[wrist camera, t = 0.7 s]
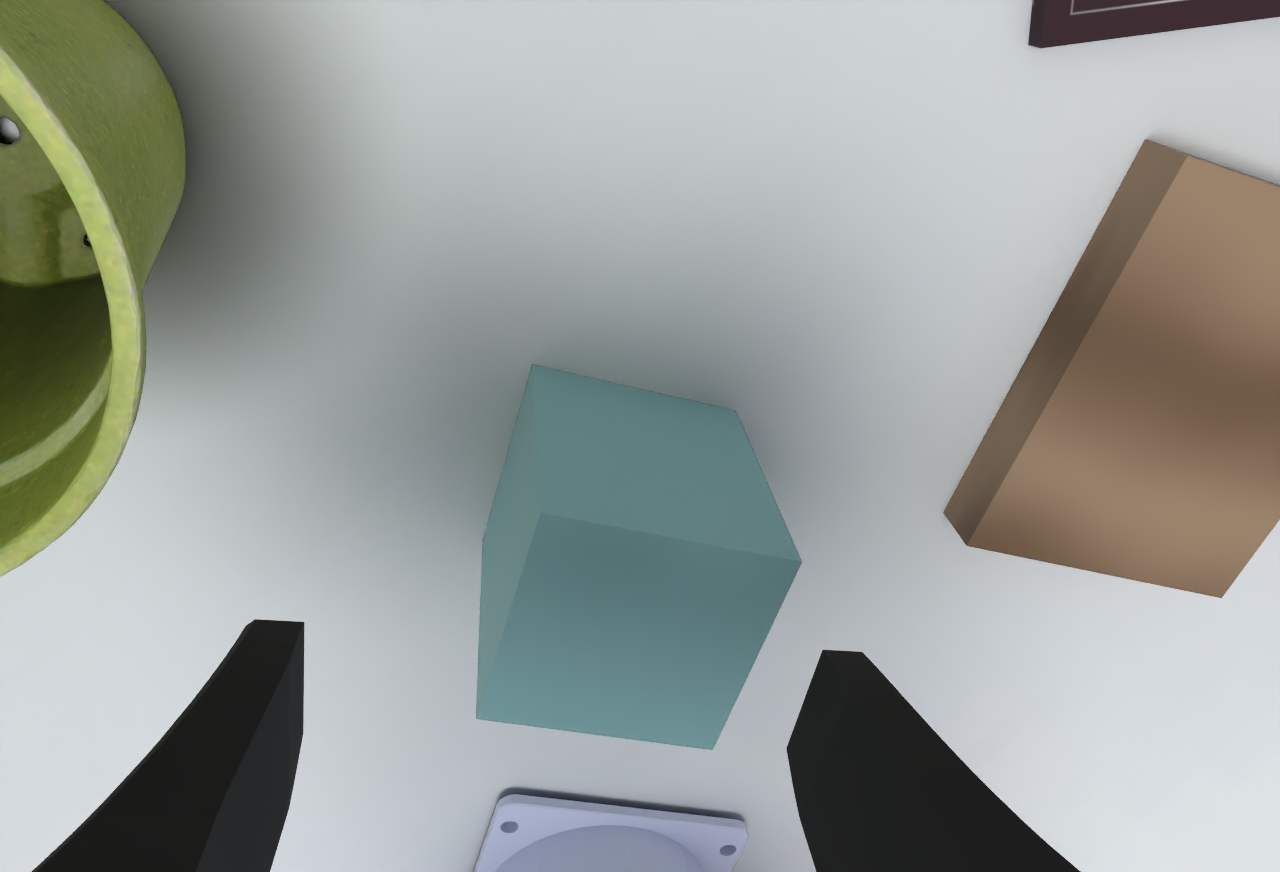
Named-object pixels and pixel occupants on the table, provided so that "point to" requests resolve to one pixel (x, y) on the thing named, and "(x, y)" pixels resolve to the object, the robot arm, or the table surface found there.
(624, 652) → the teal block
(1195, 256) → the walnut slab
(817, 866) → the robot arm
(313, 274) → the table surface
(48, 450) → the plant pot
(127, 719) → the table surface
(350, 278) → the table surface
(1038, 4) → the chocolate bar
